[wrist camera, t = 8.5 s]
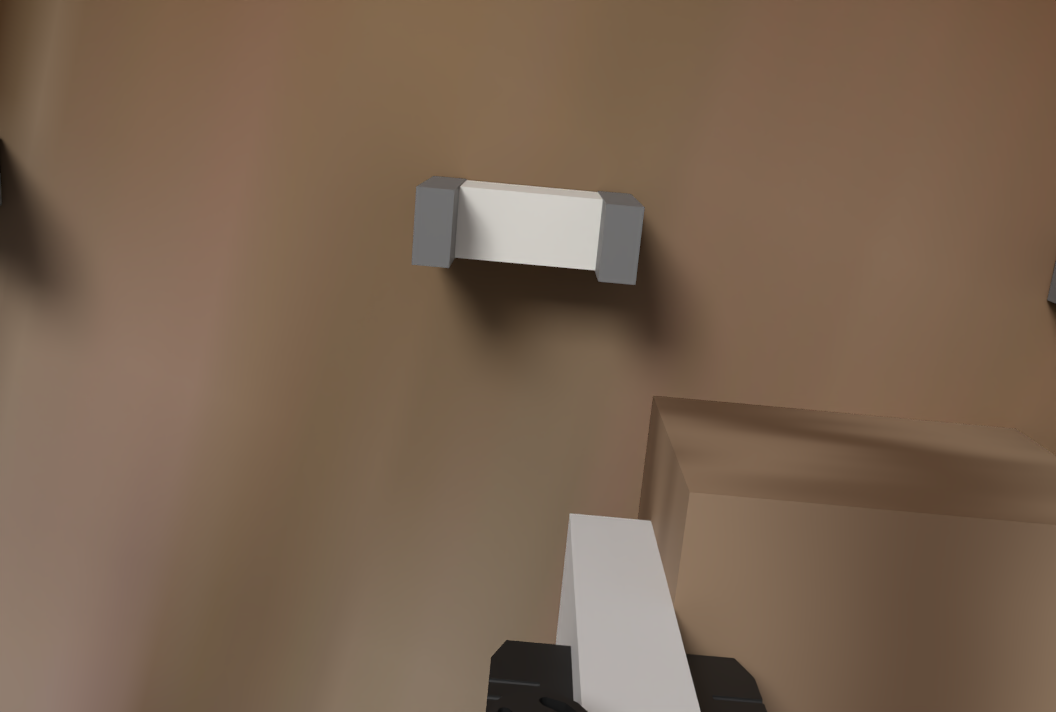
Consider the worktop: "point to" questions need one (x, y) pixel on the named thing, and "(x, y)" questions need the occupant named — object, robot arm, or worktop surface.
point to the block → (858, 555)
